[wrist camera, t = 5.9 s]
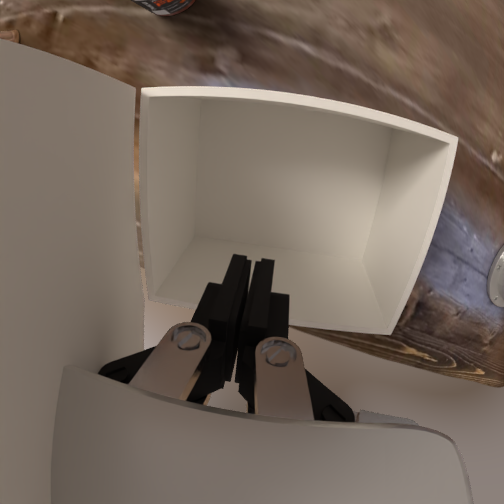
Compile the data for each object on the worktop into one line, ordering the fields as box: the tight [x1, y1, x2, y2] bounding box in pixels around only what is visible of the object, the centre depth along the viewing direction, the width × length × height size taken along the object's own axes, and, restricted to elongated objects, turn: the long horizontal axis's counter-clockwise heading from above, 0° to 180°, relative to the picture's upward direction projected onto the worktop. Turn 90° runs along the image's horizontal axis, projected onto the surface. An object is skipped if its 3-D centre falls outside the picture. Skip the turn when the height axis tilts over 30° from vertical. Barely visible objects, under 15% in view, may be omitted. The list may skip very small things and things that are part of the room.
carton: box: [139, 86, 458, 335], centre depth 23 cm, size 20×16×12 cm
